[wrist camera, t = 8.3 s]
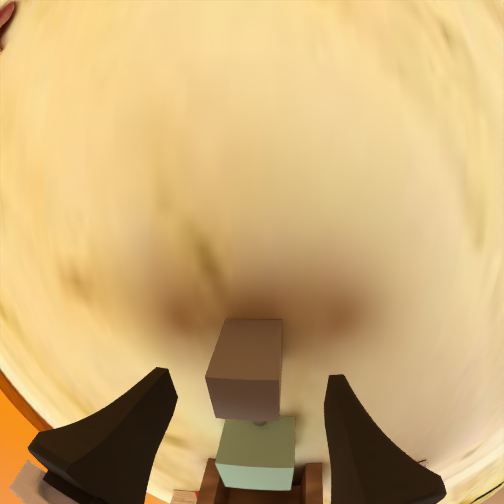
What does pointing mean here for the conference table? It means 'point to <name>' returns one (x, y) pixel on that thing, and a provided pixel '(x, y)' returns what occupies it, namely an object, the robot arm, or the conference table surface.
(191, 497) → the ink box
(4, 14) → the flower
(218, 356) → the block with rod
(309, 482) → the walnut cubby
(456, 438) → the conference table surface
